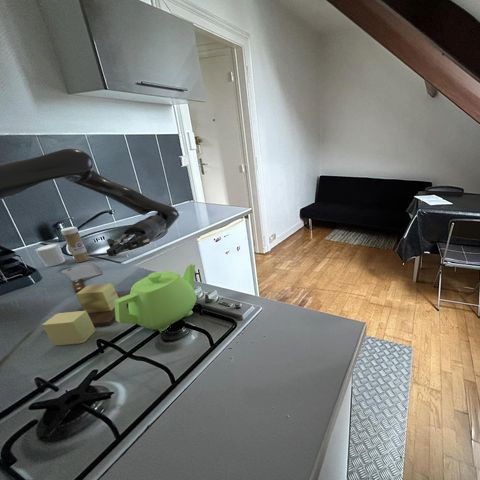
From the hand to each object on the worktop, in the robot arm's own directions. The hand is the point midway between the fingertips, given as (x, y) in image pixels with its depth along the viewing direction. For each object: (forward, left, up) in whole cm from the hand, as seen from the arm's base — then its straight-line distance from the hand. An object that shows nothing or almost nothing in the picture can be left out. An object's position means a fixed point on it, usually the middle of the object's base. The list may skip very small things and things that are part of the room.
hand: (110, 253), depth 75 cm
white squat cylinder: (-34, +36, -13) cm, 51 cm away
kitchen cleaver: (-17, +16, -13) cm, 27 cm away
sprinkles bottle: (-24, +34, -13) cm, 44 cm away
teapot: (+15, -20, -13) cm, 28 cm away
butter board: (-2, -10, -13) cm, 16 cm away
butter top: (-5, -20, -7) cm, 21 cm away
